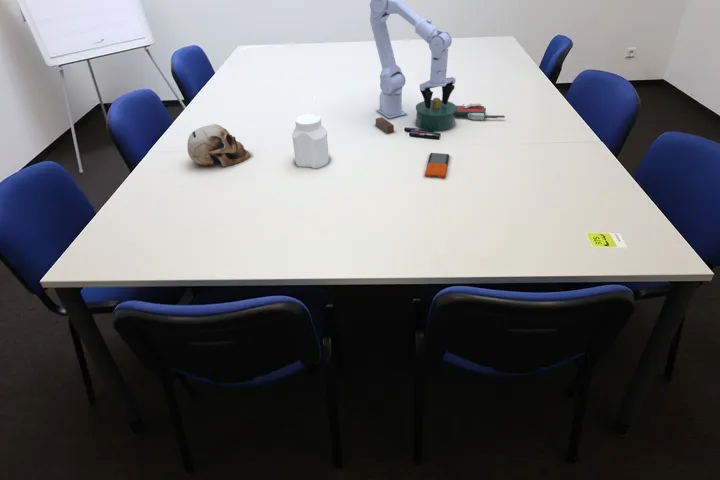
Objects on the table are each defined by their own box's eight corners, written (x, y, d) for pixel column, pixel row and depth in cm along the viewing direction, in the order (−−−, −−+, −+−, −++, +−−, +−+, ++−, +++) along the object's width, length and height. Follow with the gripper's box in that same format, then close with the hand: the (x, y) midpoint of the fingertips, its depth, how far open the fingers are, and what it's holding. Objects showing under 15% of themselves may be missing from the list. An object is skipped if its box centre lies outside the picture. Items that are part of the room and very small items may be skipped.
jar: (291, 165, 158) (285, 123, 149) (301, 153, 166) (296, 112, 157) (323, 169, 156) (320, 126, 147) (332, 155, 163) (329, 114, 154)
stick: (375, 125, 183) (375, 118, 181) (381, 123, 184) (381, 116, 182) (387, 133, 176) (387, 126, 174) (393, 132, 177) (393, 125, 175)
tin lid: (407, 107, 182) (408, 96, 179) (440, 99, 187) (441, 89, 185) (430, 121, 171) (431, 109, 168) (464, 112, 176) (466, 101, 173)
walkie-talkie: (451, 120, 184) (504, 121, 182) (452, 109, 181) (506, 110, 179) (451, 111, 191) (501, 112, 189) (452, 101, 188) (503, 101, 186)
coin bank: (254, 154, 165) (243, 119, 157) (218, 180, 156) (204, 144, 147) (224, 145, 173) (212, 112, 165) (188, 169, 163) (173, 135, 155)
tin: (409, 121, 185) (409, 106, 181) (439, 113, 190) (440, 98, 186) (429, 134, 175) (430, 119, 171) (461, 126, 180) (463, 110, 176)
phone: (424, 173, 149) (430, 152, 160) (424, 177, 150) (429, 155, 161) (445, 175, 148) (449, 153, 159) (445, 178, 148) (449, 156, 160)
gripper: (428, 75, 164) (425, 113, 172) (461, 68, 169) (458, 105, 178) (416, 70, 169) (415, 106, 178) (450, 63, 174) (447, 99, 183)
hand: (436, 105), depth 178 cm, fingers open, 7 cm apart
